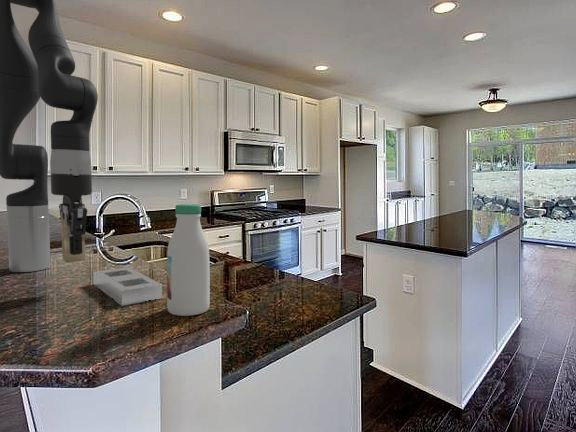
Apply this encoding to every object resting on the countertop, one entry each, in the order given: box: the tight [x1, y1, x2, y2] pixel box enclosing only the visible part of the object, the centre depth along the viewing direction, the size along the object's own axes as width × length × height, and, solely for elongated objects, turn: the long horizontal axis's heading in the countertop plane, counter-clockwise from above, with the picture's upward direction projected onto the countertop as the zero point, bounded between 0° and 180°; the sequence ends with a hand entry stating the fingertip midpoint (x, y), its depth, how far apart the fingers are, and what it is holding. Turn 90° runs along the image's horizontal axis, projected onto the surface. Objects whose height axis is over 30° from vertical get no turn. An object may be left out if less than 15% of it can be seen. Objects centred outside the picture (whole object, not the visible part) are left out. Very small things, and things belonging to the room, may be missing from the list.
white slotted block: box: [93, 266, 163, 307], centre depth 83 cm, size 20×8×3 cm, turn 41°
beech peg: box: [60, 218, 86, 263], centre depth 81 cm, size 4×4×9 cm
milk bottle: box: [166, 203, 211, 317], centre depth 70 cm, size 8×8×20 cm
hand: (73, 252), depth 81 cm, fingers closed on beech peg, 3 cm apart
